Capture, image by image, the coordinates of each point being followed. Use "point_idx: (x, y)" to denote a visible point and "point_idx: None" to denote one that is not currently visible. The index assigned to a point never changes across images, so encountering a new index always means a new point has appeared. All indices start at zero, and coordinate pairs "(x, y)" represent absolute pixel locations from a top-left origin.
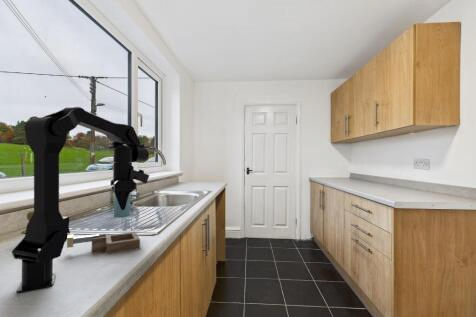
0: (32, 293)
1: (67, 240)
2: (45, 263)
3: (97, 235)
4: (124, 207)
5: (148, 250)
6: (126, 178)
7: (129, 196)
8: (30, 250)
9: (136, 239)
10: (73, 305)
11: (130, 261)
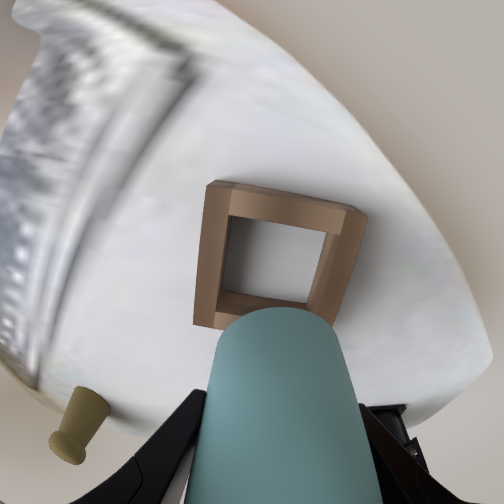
0: None
1: None
2: (406, 441)
3: None
4: (372, 420)
5: (398, 188)
6: None
7: (373, 491)
8: None
9: (359, 231)
10: (475, 372)
11: (434, 276)
